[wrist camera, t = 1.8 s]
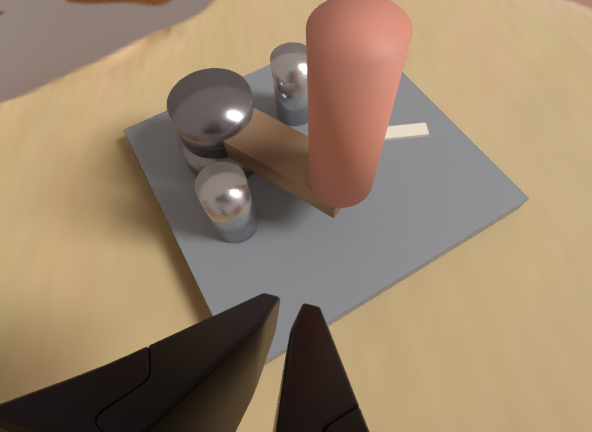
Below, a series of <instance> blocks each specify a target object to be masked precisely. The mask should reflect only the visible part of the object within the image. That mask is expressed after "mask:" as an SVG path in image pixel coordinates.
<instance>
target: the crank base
mask: <svg viewBox="0 0 592 432" xmlns="http://www.w3.org/2000/svg"><path fill="white" fill-rule="evenodd" d="M270 62H271V64H270V65H268V66H266V67H263V68H261V69H259V70H257V71H255V72H252V73H250V74H248V75H246V76H243V78H244V79H245V80H246V81H247V83H248V84H249V86H250V89H251V92H252V98H253V103H254V108H255V109H257V110H259V111H261V112H263V113H265V114H267V115H269V116H271V117H272V118H274V119H276V120H278V121H280V122H282V123H284V124H286V125H288V126H290V127H292V128H293V129H295V130H297V131H299V132H301V133H303V134H305V135H307V136H308V96H307V50H306V45H304V44H301V43H294V42H292V43H285V44H282V45H280V46H278V47H277V48H276V49H274V50H273V52H272V54H271V56H270ZM124 132H125V134H126V136H127V138H128V140H129V142H130V144H131V147H132V149H133V151H134V153H135V155H136V157H137V159H138V161H139V163H140V165H141V167H142V169H143V172H144V174H145V176H146V178H147V180H148V182H149V184H150V186H151V188H152V190H153V192H154V194H155V197H156V199H157V201H158V203H159V205H160V207H161V209H162V211H163V213H164V215H165V217H166V219H167V222H168V224H169V226H170V228H171V230H172V232H173V234H174V236H175V238H176V240H177V242H178V244H179V247H180V249H181V251H182V253H183V255H184V257H185V259H186V261H187V263H188V265H189V267H190V269H191V272H192V274H193V276H194V278H195V280H196V282H197V284H198V286H199V288H200V290H201V292H202V294H203V297H204V299H205V301H206V303H207V305H208V307H209V309H210V311H211V313H212V315H213V316H214V315H216V314H219V313H221V312H223V311H225V310H227V309H230V308H232V307H234V306H236V305H238V304H240V303H243V302H245V301H247V300H249V299H251V298H253V297H256V296H258V295H260V294H262V293H267V294H271V295H275V296H278V297H279V298H280V307H279V313H278V320H277V326H276V331H275V335H274V338H273V341H272V344H271V347H270V350H269V352H268V355H267V358H266V361H265V364H264V365H266V364H267V363H269V362H271V361H272V360H274V359H275V358H277V357H279V356H280V355H282V354H284V353H285V352H287V346H288V340H289V335H290V330H291V328H292V325H293V323H294V321H295V319H296V317H297V314H298V312H299V310H300V308H301V306H302V304H304V303H306V304H310V305H314V306H318V307H320V308H321V311H322V313H323V316H324V318H325V321H326V323H327V326H329V325H331V324H332V323H334V322H335V321H337V320H339V319H340V318H342V317H344V316H345V315H347V314H348V313H350V312H352V311H353V310H355V309H356V308H358V307H360V306H361V305H363V304H365V303H366V302H368V301H369V300H371V299H373V298H374V297H376V296H378V295H379V294H381V293H382V292H384V291H386V290H387V289H389V288H391V287H392V286H394V285H395V284H397V283H399V282H400V281H402V280H404V279H405V278H407V277H408V276H410V275H412V274H413V273H415V272H416V271H418V270H420V269H421V268H423V267H425V266H426V265H428V264H429V263H431V262H433V261H434V260H436V259H438V258H439V257H441V256H442V255H444V254H446V253H447V252H449V251H451V250H452V249H454V248H455V247H457V246H459V245H460V244H462V243H464V242H465V241H467V240H468V239H470V238H472V237H473V236H475V235H476V234H478V233H480V232H481V231H483V230H485V229H486V228H488V227H489V226H491V225H493V224H494V223H496V222H498V221H499V220H501V219H502V218H504V217H506V216H507V215H509V214H511V213H512V212H514V211H515V210H517V209H519V208H520V207H521V206H522V205H523V204H524V203H525V202H526V201H527V200H528V199H529V198H528V197H527V196H526V195H525V194H524V193H523V192H522V191H521V190H520V189H519V188H518V187H517V186H516V185H515V184H514V183H513V182H512V181H511V180H510V179H509V178H508V177H507V176H506V175H505V174H504V173H503V172H502V171H501V170H500V169H499V168H498V167H497V166H496V165H495V164H494V163H493V162H492V161H491V160H490V159H489V158H488V157H487V156H486V155H485V154H484V153H483V152H482V151H481V150H480V149H479V148H478V147H477V146H476V145H475V144H474V143H473V142H472V141H471V140H470V139H469V138H468V137H467V136H466V135H465V134H464V133H463V132H462V131H461V130H460V129H459V128H458V127H457V126H456V125H455V124H454V123H453V122H452V121H451V120H450V119H449V118H448V117H447V116H446V115H445V114H444V113H443V112H442V111H441V110H440V109H439V108H438V107H437V106H436V105H435V104H434V103H433V102H432V101H431V100H430V99H429V98H428V97H427V96H426V95H425V94H424V93H423V92H422V91H421V90H420V89H419V88H418V87H417V86H416V85H415V84H414V83H413V82H412V81H411V80H410V79H409V78H408V77H407V76H406V75H405V74H404V73H403V72H402V74H401V78H400V82H399V86H398V89H397V93H396V97H395V101H394V105H393V109H392V112H391V116H390V120H389V124H388V128H387V132H386V135H385V139H384V143H383V147H382V151H381V155H380V158H379V162H378V166H377V170H376V174H375V178H374V181H373V185H372V189H371V191H370V193H369V195H368V196H367V197H366V198H365V199H364V200H363V201H362V202H360V203H359V204H357V205H354V206H351V207H346V208H341V209H340V211H339V212H338V213H337V215H336V216H335V218H332V217H330V216H329V215H327V214H325V213H324V212H322V211H320V210H318V209H317V208H315V207H313V206H312V205H310V204H308V203H306V202H305V201H303V200H301V199H300V198H298V197H296V196H294V195H293V194H291V193H289V192H288V191H286V190H284V189H282V188H281V187H279V186H277V185H276V184H274V183H272V182H270V181H269V180H267V179H265V178H264V177H262V176H260V175H258V174H257V173H255V172H253V171H252V170H250V169H248V168H246V167H245V166H243V165H241V164H240V163H238V162H236V161H235V160H233V159H231V158H229V157H226V158H221V159H206V158H202V157H199V156H196V155H195V154H193V153H191V152H190V151H189V150H188V149H187V148H186V147H185V146H184V144H183V143H182V141H181V139H180V137H179V135H178V133H177V130H176V128H175V126H174V124H173V122H172V120H171V118H170V116H169V114H168V111H165V112H163V113H161V114H158V115H156V116H154V117H152V118H149V119H147V120H145V121H143V122H140V123H138V124H136V125H134V126H132V127H129V128H127V129H125V130H124Z"/></svg>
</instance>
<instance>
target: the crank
mask: <svg viewBox="0 0 592 432" xmlns="http://www.w3.org/2000/svg"><path fill="white" fill-rule="evenodd" d="M411 35H412V25H411V22H410V19H409V17H408V16H407V14H406V13H405V12H404V11H403V10H402V9H401V8H400V7H399V6H398V5H396V4H395V3H393V2H391V1H389V0H328V1H326V2H324V3H322V4H321V5H319V6H318V7H317V8H316V9H315V10H314V11H313V12H312V13H311V15H310V16H309V18H308V21H307V25H306V50H307V96H308V136H307V135H305V134H303V133H301V132H299V131H297V130H295V129H293V128H292V127H290V126H288V125H286V124H284V123H282V122H280V121H278V120H276V119H274V118H272V117H271V116H269V115H267V114H265V113H263V112H261V111H259V110H257V109H255V108H254V103H253V98H252V92H251V89H250V86H249V84H248V83H247V81H246V80H245V79H244V78H243V77H242V76H240V75H239V74H237V73H235V72H233V71H230V70H227V69H220V68H210V69H203V70H199V71H196V72H194V73H191V74H189V75H187V76H186V77H184V78H183V79H181V80H180V81H179V82H178V83H177V84H176V85H175V86H174V87H173V89H172V90H171V92H170V93H169V96H168V99H167V111H168V114H169V116H170V118H171V120H172V122H173V124H174V126H175V128H176V130H177V133H178V135H179V137H180V139H181V141H182V143H183V144H184V146H185V147H186V148H187V149H188V150H189V151H190V152H191V153H193V154H195V155H196V156H199V157H202V158H206V159H221V158H226V157H229V158H231V159H233V160H235V161H236V162H238V163H240V164H241V165H243V166H245V167H246V168H248V169H250V170H252V171H253V172H255V173H257V174H258V175H260V176H262V177H264V178H265V179H267V180H269V181H270V182H272V183H274V184H276V185H277V186H279V187H281V188H282V189H284V190H286V191H288V192H289V193H291V194H293V195H294V196H296V197H298V198H300V199H301V200H303V201H305V202H306V203H308V204H310V205H312V206H313V207H315V208H317V209H318V210H320V211H322V212H324V213H325V214H327V215H329V216H330V217H332V218H335V216H336V215H337V213H338V212H339V211H340V209H341V208H346V207H351V206H354V205H357V204H359V203H360V202H362V201H363V200H364V199H365V198H366V197H367V196H368V195H369V193H370V191H371V189H372V185H373V181H374V178H375V174H376V170H377V166H378V162H379V158H380V155H381V151H382V147H383V143H384V139H385V135H386V132H387V128H388V124H389V120H390V116H391V112H392V109H393V105H394V101H395V97H396V93H397V89H398V86H399V82H400V78H401V74H402V70H403V66H404V63H405V59H406V55H407V51H408V47H409V43H410V40H411Z"/></svg>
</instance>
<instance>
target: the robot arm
mask: <svg viewBox="0 0 592 432" xmlns="http://www.w3.org/2000/svg"><path fill="white" fill-rule="evenodd" d="M279 307H280V298H279V297H278V296H275V295H271V294H267V293H262V294H260V295H258V296H256V297H253V298H251V299H249V300H247V301H245V302H243V303H240V304H238V305H236V306H234V307H232V308H230V309H227V310H225V311H223V312H221V313H219V314H216V315H214V316H212V317H210V318H208V319H206V320H203V321H201V322H199V323H197V324H195V325H193V326H190V327H188V328H186V329H184V330H182V331H180V332H177V333H175V334H173V335H171V336H169V337H167V338H164V339H162V340H160V341H158V342H156V343H154V344H151V345H150V346H149V348H148V347H145V348H142V349H140V350H138V351H136V352H134V353H132V354H129V355H127V356H125V357H122V358H120V359H118V360H116V361H113V362H111V363H109V364H106V365H104V366H101V367H99V368H96V369H94V370H91V371H89V372H86V373H83V374H81V375H78V376H76V377H73V378H70V379H68V380H65V381H62V382H59V383H57V384H54V385H51V386H48V387H46V388H43V389H40V390H38V391H35V392H32V393H29V394H27V395H24V396H21V397H18V398H16V399H13V400H10V401H7V402H5V403H2V404H0V432H236V430H237V428H238V426H239V424H240V422H241V420H242V418H243V416H244V414H245V412H246V409H247V407H248V405H249V403H250V401H251V399H252V397H253V394H254V392H255V389H256V387H257V384H258V381H259V378H260V375H261V373H262V370H263V367H264V364H265V361H266V358H267V355H268V352H269V350H270V347H271V344H272V341H273V338H274V335H275V331H276V326H277V320H278V313H279ZM273 432H369V429H368V427H367V425H366V422H365V420H364V417H363V414H362V412H361V410H360V408H359V405H358V402H357V400H356V397H355V395H354V392H353V389H352V387H351V384H350V382H349V379H348V377H347V374H346V372H345V369H344V367H343V364H342V361H341V359H340V356H339V354H338V351H337V349H336V346H335V344H334V341H333V339H332V336H331V333H330V331H329V328H328V326H327V323H326V321H325V318H324V316H323V313H322V311H321V308H320V307H318V306H314V305H310V304H306V303H304V304H302V306H301V308H300V310H299V312H298V314H297V317H296V319H295V321H294V323H293V325H292V328H291V330H290V335H289V340H288V346H287V352H286V357H285V363H284V369H283V374H282V380H281V386H280V392H279V397H278V403H277V409H276V415H275V421H274V427H273Z"/></svg>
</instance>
